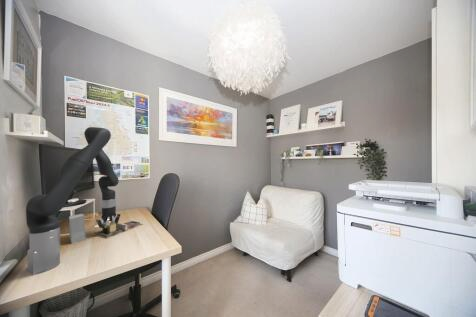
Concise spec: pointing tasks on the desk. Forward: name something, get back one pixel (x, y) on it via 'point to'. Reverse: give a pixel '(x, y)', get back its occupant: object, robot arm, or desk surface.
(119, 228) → the lock board
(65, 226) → the desk surface
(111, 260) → the desk surface
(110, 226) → the stop bar
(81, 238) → the skincare box
